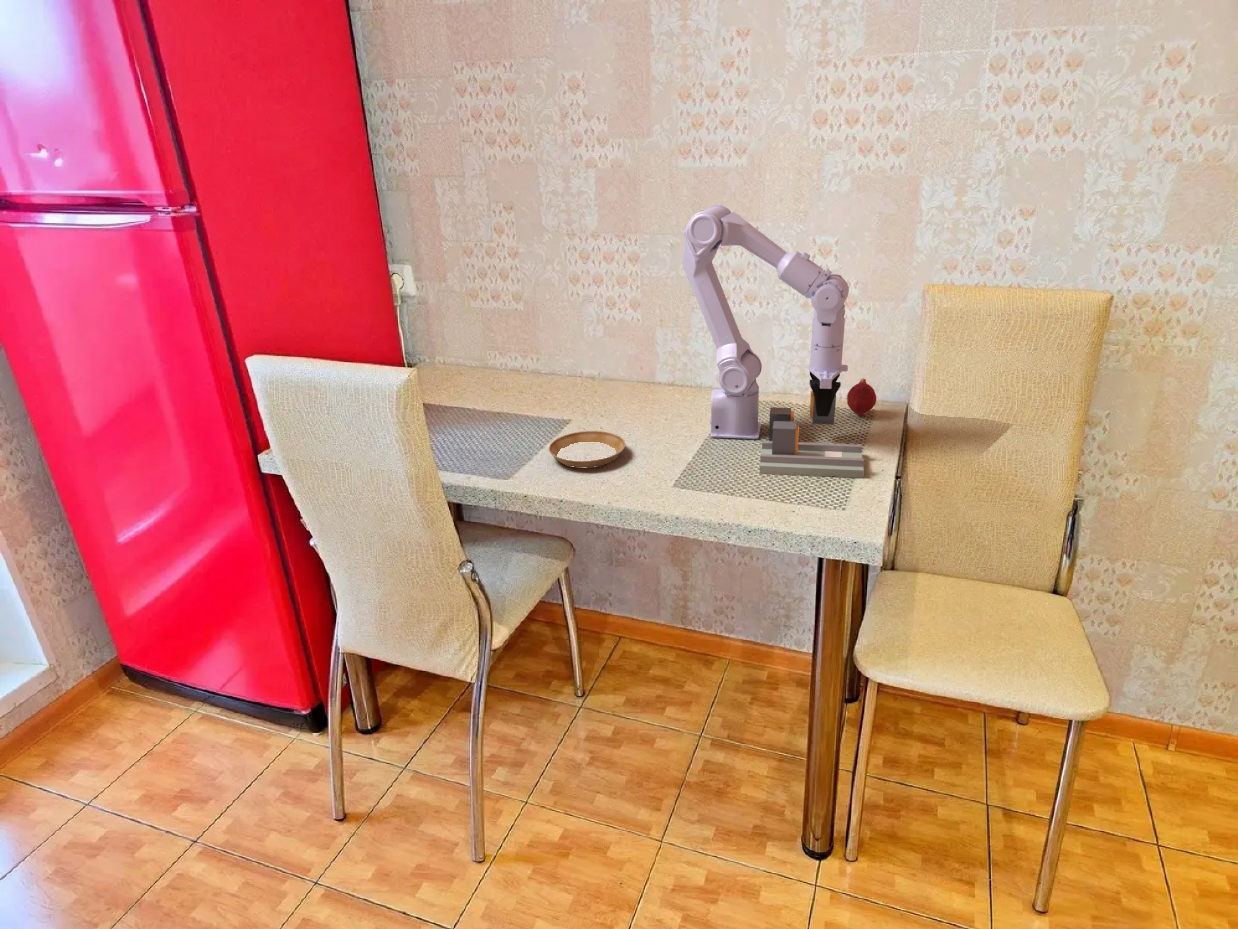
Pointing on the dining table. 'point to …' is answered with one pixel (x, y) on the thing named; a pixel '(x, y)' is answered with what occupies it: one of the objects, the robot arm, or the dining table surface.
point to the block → (779, 417)
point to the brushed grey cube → (821, 419)
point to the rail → (808, 455)
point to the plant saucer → (587, 436)
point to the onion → (861, 398)
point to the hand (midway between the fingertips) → (822, 411)
